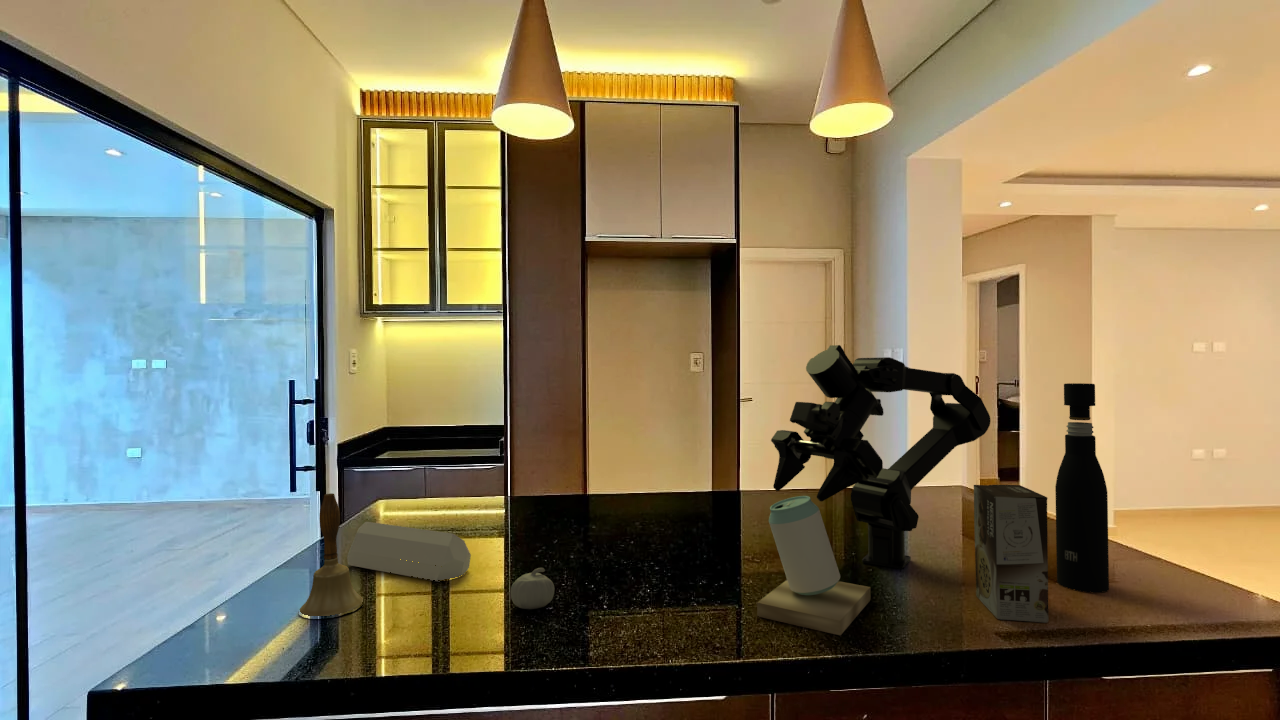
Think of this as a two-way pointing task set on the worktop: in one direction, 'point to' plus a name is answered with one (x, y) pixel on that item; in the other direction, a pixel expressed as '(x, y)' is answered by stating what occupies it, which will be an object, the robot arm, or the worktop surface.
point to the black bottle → (1081, 501)
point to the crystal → (409, 551)
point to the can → (803, 546)
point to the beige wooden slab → (816, 607)
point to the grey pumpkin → (532, 590)
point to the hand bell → (331, 571)
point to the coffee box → (1011, 552)
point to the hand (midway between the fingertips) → (796, 494)
